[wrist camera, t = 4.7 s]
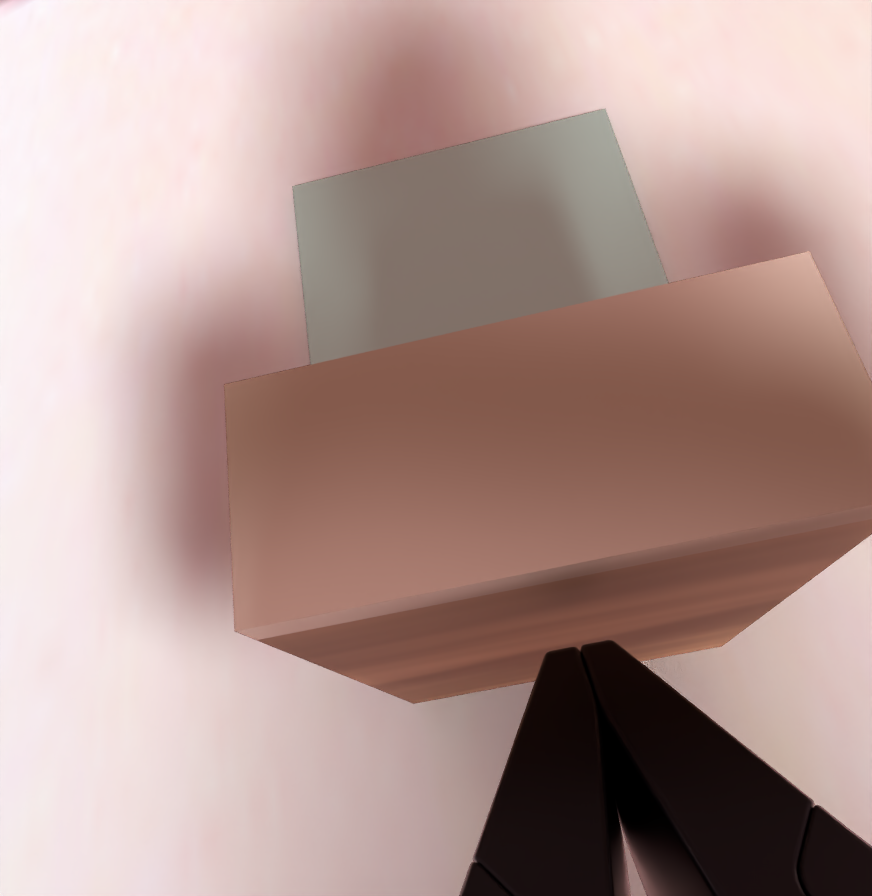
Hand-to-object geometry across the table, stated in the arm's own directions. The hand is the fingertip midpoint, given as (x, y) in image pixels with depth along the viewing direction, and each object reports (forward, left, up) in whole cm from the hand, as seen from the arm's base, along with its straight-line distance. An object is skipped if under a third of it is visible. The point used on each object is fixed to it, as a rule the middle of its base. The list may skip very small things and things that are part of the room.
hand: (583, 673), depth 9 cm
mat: (+10, +5, -8) cm, 13 cm away
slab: (+2, +1, -8) cm, 8 cm away
